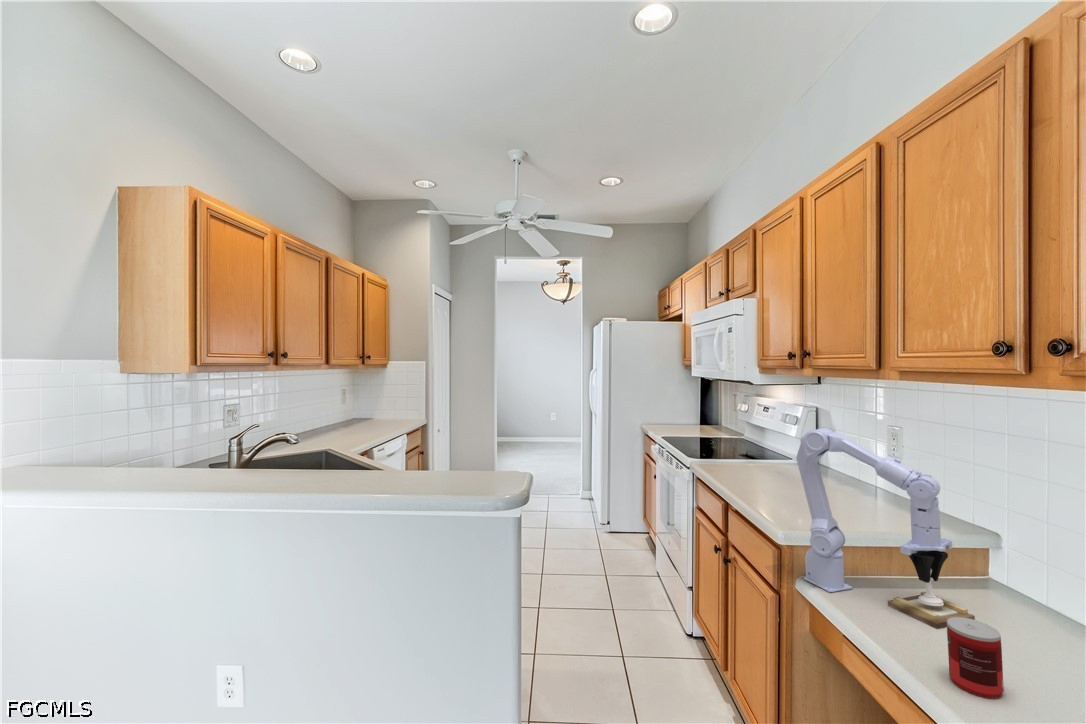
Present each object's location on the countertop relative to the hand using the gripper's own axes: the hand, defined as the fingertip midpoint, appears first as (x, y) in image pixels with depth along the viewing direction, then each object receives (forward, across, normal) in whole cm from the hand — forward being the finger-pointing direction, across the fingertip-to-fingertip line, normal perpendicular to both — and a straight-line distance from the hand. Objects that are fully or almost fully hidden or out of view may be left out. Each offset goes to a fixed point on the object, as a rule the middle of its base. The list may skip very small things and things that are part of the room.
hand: (928, 580), depth 119 cm
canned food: (+8, -20, -23) cm, 32 cm away
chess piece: (+5, 0, 0) cm, 5 cm away
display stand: (+8, 0, 0) cm, 8 cm away
